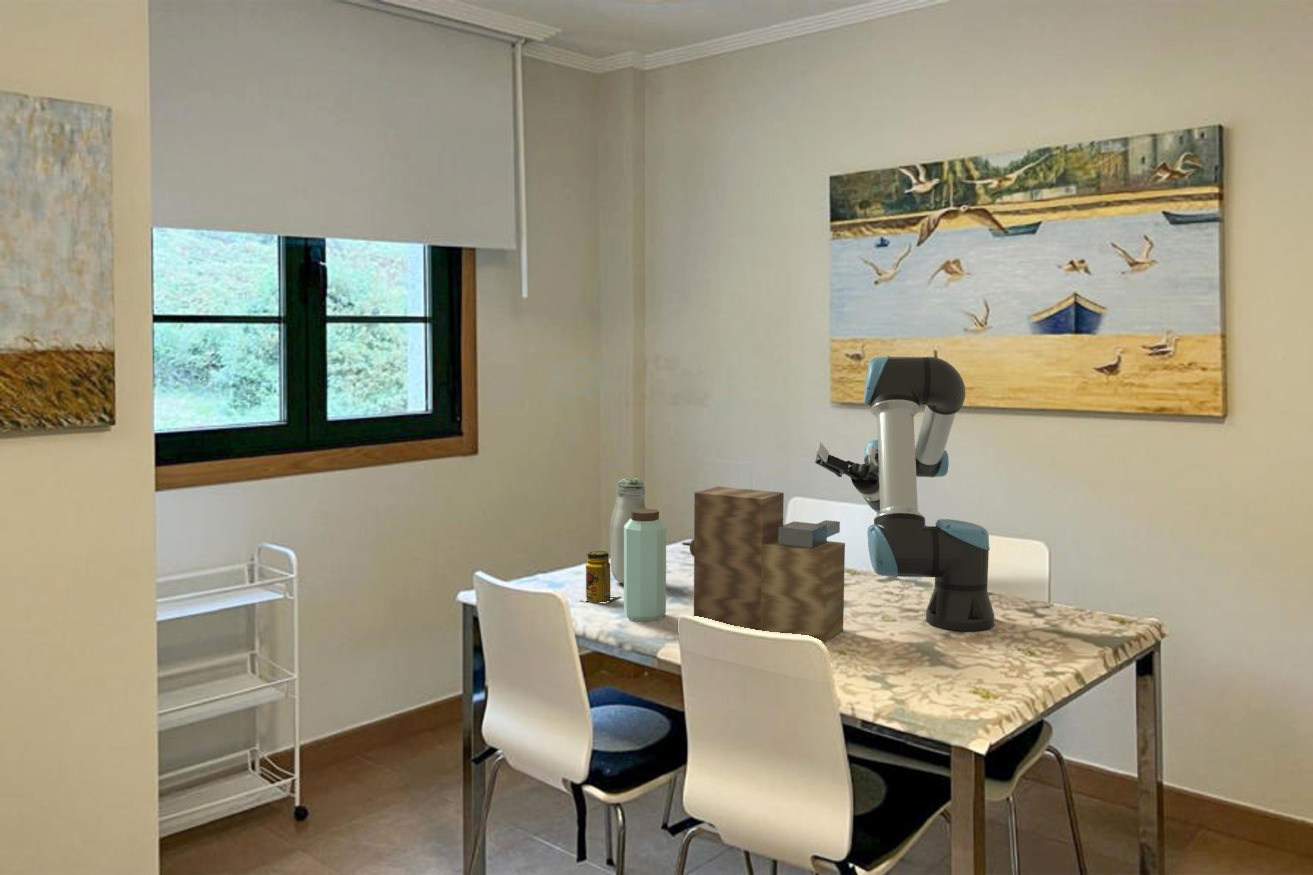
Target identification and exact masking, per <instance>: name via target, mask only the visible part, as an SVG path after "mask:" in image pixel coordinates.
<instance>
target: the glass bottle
mask: <svg viewBox="0 0 1313 875" xmlns="http://www.w3.org/2000/svg"><path fill="white" fill-rule="evenodd" d="M615 492H616V499H615V503H614V508H613V511H612V514H611V520H610V524H609V525H610V530H609V532H610V542H609V543H610V573H611V575H612V576H613V578H614V580H615V581H617V582H619V583H621V584H624V526H625V524H626V523H627V522H628V521H629V520H630V518H631V510H635V509H647V508H646V505H645V486H644V483H643V481H642V480H641V479H639V478H638V477H624V478H622V479H620V480H619V481H618V482H617V484H616V491H615Z"/></svg>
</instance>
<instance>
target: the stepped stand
mask: <svg viewBox="0 0 1313 875" xmlns="http://www.w3.org/2000/svg"><path fill="white" fill-rule="evenodd" d="M784 494H785V493H784V492H781V491H770V490H759V489H747V488H736V487H725V486H714V487H712V488H707V489H702V490H699V491H696V492H694V502H693V503H694V510H693V511H694V513H693V514H694V516H693V517H694V519H693V520H694V521H693V522H694V523H693V524H694V525H693V526H694V528H693V531H694V533H693V536H694V537H693V539H694V556H693V617H694V616H699V617H704V618H708V619H712V620H715V621H719V622H723V623H726V624H730V625H734V626H740V627H744V628H750V629H755V630H762V631H769V632H780V633H792V634H801V635H809V636H812V637H814V638H817V639H819V640H821V641H822V642H824V644H826V643H827V642H829V641H831V640H832V639H833V638H835V637H837V636H838V635H840V634H842V633H843V632H844V612H845V610H844V608H845V607H844V606H845V604H844V602H845V567H846V566H845V558H846V556H845V554H846V553H845V551H846V543H845V542H839V541H830V540H829V541H828V540H827V543H825V544H823V545H820V546H818V547H816V548H813V549H808V548H799V547H791V546H782V545H778V534H779V527H780V526H783V525H784V503H785V502H784V500H785V499H784V496H785V495H784Z"/></svg>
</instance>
